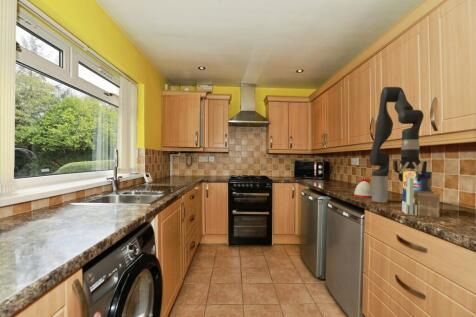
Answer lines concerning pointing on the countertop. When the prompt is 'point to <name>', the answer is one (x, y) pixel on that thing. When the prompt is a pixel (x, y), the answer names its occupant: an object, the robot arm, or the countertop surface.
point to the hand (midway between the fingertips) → (409, 181)
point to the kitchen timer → (363, 189)
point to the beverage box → (418, 186)
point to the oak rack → (426, 203)
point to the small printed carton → (405, 208)
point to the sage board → (409, 195)
